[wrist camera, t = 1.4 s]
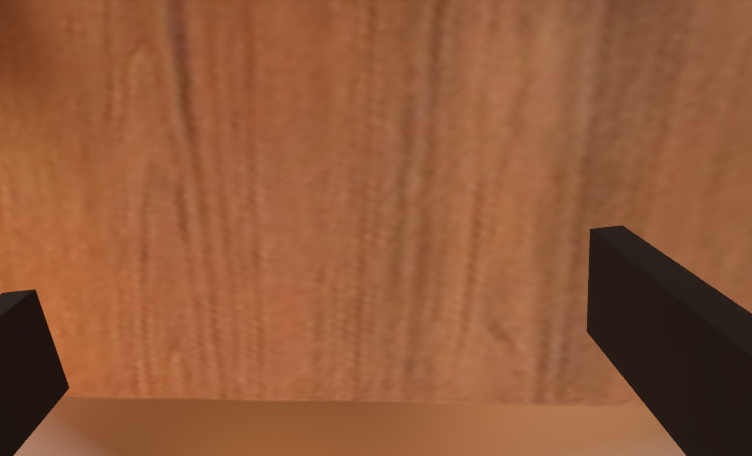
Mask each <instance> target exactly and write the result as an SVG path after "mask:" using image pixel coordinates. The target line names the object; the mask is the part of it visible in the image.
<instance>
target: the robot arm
mask: <svg viewBox="0 0 752 456" xmlns="http://www.w3.org/2000/svg"><path fill="white" fill-rule="evenodd" d="M587 332H588V334H589V335H590V336H591V337H592V339H593V340H594V341H595V342H596V344H597V345H598V346H599V347H600V349H601V350H602V351H603V352H604V354H605V355H606V356H607V357H608V359H609V360H610V361H611V362H612V364H613V365H614V366H615V367H616V368H617V370H618V371H619V372H620V373H621V375H622V376H623V377H624V378H625V380H626V381H627V382H628V383H629V385H630V386H631V387H632V388H633V390H634V391H635V392H636V393H637V395H638V396H639V397H640V398H641V400H642V401H643V402H644V403H645V405H646V406H647V407H648V408H649V410H650V411H651V412H652V413H653V414H654V416H655V417H656V418H657V419H658V421H659V422H660V423H661V425H662V426H663V427H664V428H665V430H666V431H667V432H668V433H669V435H670V436H671V437H672V438H673V439H674V441H675V442H676V443H677V445H678V446H679V447H680V448H681V449H682V451H683V452H684V453H685V454H686V456H752V314H751V313H750V312H748V311H747V310H745V309H744V308H742V307H741V306H739V305H738V304H737V303H735V302H734V301H732V300H731V299H729V298H728V297H726V296H725V295H723V294H722V293H720V292H719V291H718V290H716V289H715V288H713V287H712V286H710V285H709V284H707V283H706V282H704V281H703V280H701V279H700V278H699V277H697V276H696V275H694V274H693V273H691V272H690V271H688V270H687V269H685V268H684V267H682V266H681V265H680V264H678V263H677V262H675V261H674V260H672V259H671V258H669V257H668V256H666V255H665V254H663V253H662V252H660V251H659V250H658V249H656V248H655V247H653V246H652V245H650V244H649V243H647V242H646V241H644V240H643V239H641V238H640V237H639V236H637V235H636V234H634V233H633V232H631V231H630V230H628V229H627V228H625V227H624V226H613V227H604V228H595V229H590V248H589V279H588V311H587ZM68 389H69V386H68V383H67V380H66V377H65V374H64V371H63V368H62V365H61V362H60V360H59V357H58V354H57V351H56V348H55V345H54V342H53V339H52V336H51V333H50V331H49V328H48V325H47V322H46V319H45V316H44V313H43V310H42V307H41V304H40V302H39V299H38V296H37V293H36V290H25V291H16V292H7V293H2V294H1V295H0V456H13V455H14V454H15V453H16V452H17V451H18V449H19V448H20V447H21V446H22V444H23V443H24V442H25V441H26V440H27V438H28V437H29V436H30V435H31V434H32V432H33V431H34V430H35V429H36V427H37V426H38V425H39V424H40V423H41V422H42V420H43V419H44V418H45V417H46V416H47V414H48V413H49V412H50V411H51V409H52V408H53V407H54V406H55V405H56V403H57V402H58V401H59V400H60V399H61V397H62V396H63V395H64V394H65V393H66V391H67V390H68Z"/></svg>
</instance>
